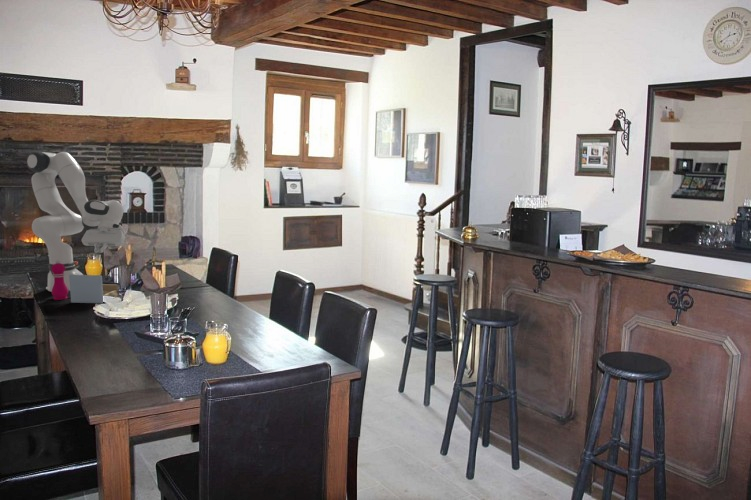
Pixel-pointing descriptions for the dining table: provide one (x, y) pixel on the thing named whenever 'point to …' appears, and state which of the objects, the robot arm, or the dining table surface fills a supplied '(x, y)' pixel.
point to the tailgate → (86, 288)
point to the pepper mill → (59, 282)
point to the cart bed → (110, 290)
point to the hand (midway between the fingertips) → (98, 251)
